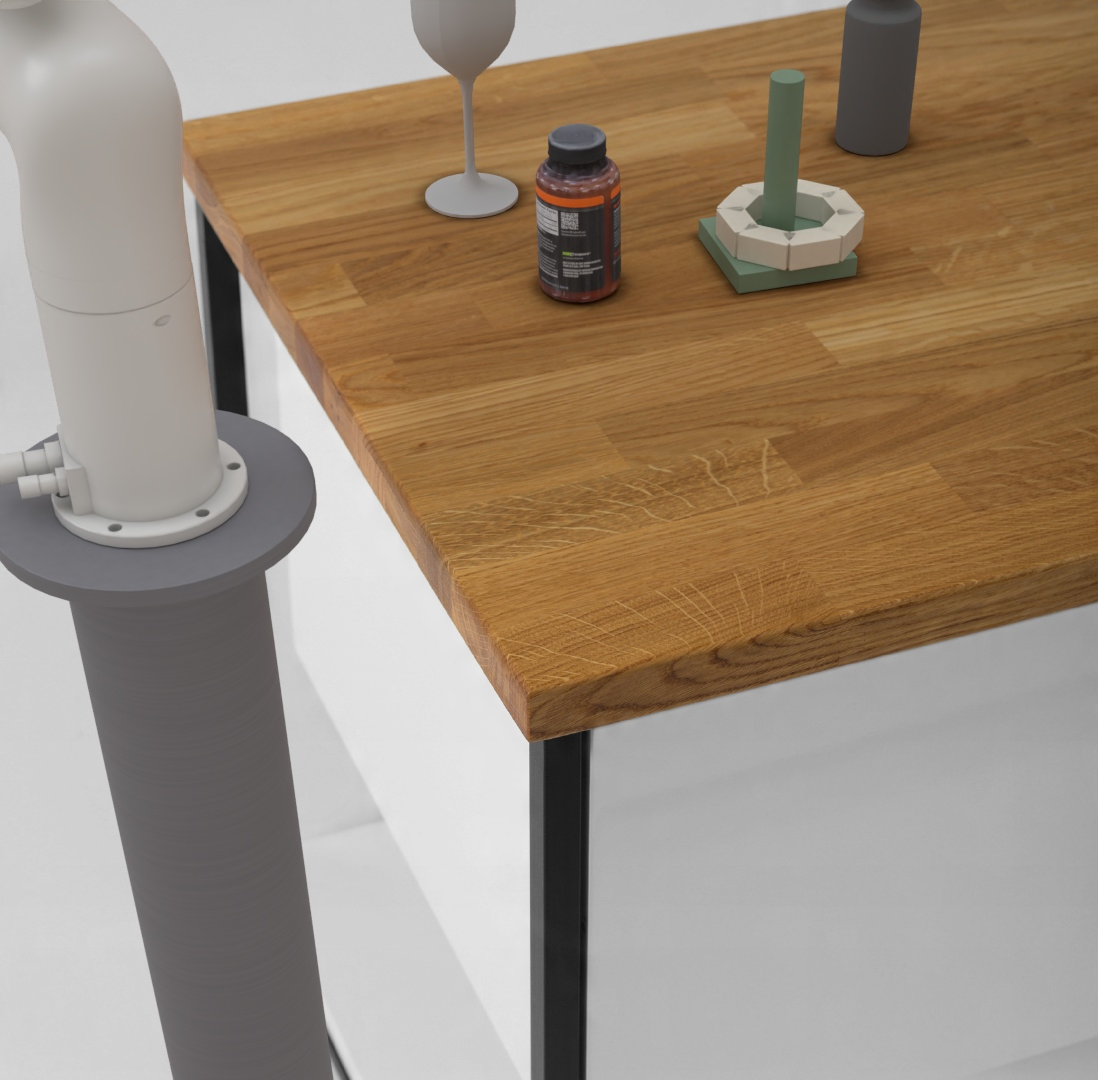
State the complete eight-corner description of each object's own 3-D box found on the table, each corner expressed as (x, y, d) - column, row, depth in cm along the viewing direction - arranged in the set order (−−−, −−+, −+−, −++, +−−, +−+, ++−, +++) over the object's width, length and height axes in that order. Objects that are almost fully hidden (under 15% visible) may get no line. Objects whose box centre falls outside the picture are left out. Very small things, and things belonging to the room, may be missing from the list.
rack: (738, 293, 146) (748, 110, 137) (697, 237, 152) (704, 58, 143) (856, 275, 148) (873, 93, 138) (811, 220, 154) (825, 42, 145)
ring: (748, 278, 144) (750, 251, 143) (700, 215, 152) (701, 190, 150) (879, 256, 146) (882, 230, 145) (826, 196, 153) (828, 170, 152)
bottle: (910, 127, 165) (931, -64, 155) (904, 159, 161) (926, -35, 151) (838, 121, 166) (854, -68, 156) (830, 153, 162) (846, -40, 152)
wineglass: (536, 184, 159) (530, -97, 145) (494, 226, 154) (484, -60, 140) (449, 167, 161) (435, -110, 147) (405, 208, 156) (386, -75, 142)
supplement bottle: (605, 260, 150) (605, 110, 142) (632, 298, 146) (634, 146, 138) (527, 273, 149) (523, 123, 141) (552, 312, 144) (550, 159, 137)
